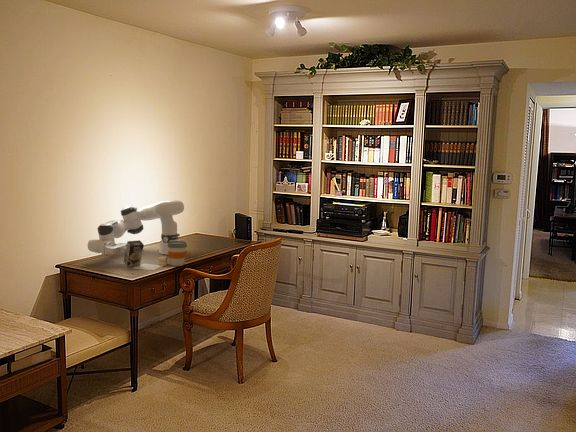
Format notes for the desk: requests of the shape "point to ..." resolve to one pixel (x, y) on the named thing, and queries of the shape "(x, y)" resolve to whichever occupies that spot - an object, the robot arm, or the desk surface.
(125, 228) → the robot arm
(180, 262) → the reusable coffee cup
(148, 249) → the desk surface
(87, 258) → the desk surface
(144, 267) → the grey mat
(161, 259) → the maple block
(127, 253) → the coffee box
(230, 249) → the desk surface
